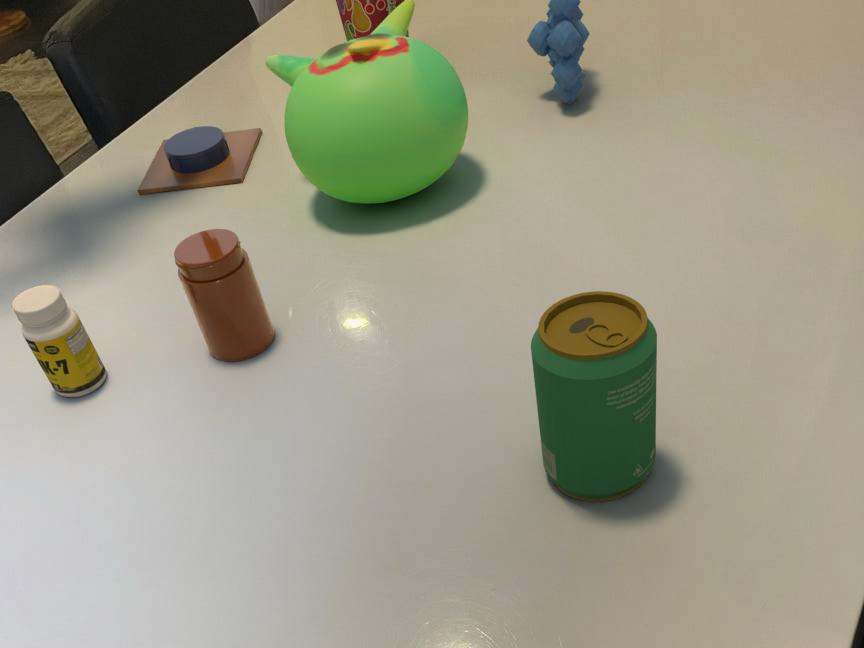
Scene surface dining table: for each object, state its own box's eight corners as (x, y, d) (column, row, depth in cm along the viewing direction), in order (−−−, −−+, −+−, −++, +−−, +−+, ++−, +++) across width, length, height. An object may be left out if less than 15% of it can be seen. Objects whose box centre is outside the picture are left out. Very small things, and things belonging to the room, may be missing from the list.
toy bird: (325, 251, 94) (281, 91, 82) (290, 178, 104) (247, 28, 93) (498, 198, 95) (478, 34, 84) (447, 132, 106) (423, -21, 95)
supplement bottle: (44, 395, 85) (-6, 311, 78) (76, 362, 87) (30, 278, 81) (87, 402, 83) (39, 317, 77) (118, 369, 86) (75, 284, 79)
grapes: (534, 75, 112) (524, -45, 103) (592, 69, 111) (588, -53, 102) (528, 121, 105) (517, -4, 96) (591, 115, 104) (586, -12, 95)
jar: (203, 364, 84) (162, 270, 77) (215, 325, 88) (178, 231, 81) (269, 357, 84) (234, 261, 77) (279, 317, 87) (247, 222, 80)
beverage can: (596, 416, 73) (589, 272, 64) (678, 461, 69) (684, 313, 59) (521, 472, 70) (502, 330, 61) (602, 522, 66) (595, 378, 57)
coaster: (138, 194, 107) (136, 190, 106) (165, 143, 114) (163, 139, 114) (242, 182, 105) (241, 178, 105) (262, 132, 112) (260, 127, 112)
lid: (241, 149, 109) (235, 131, 108) (198, 178, 106) (191, 159, 105) (201, 139, 112) (195, 122, 111) (158, 166, 109) (151, 149, 108)
